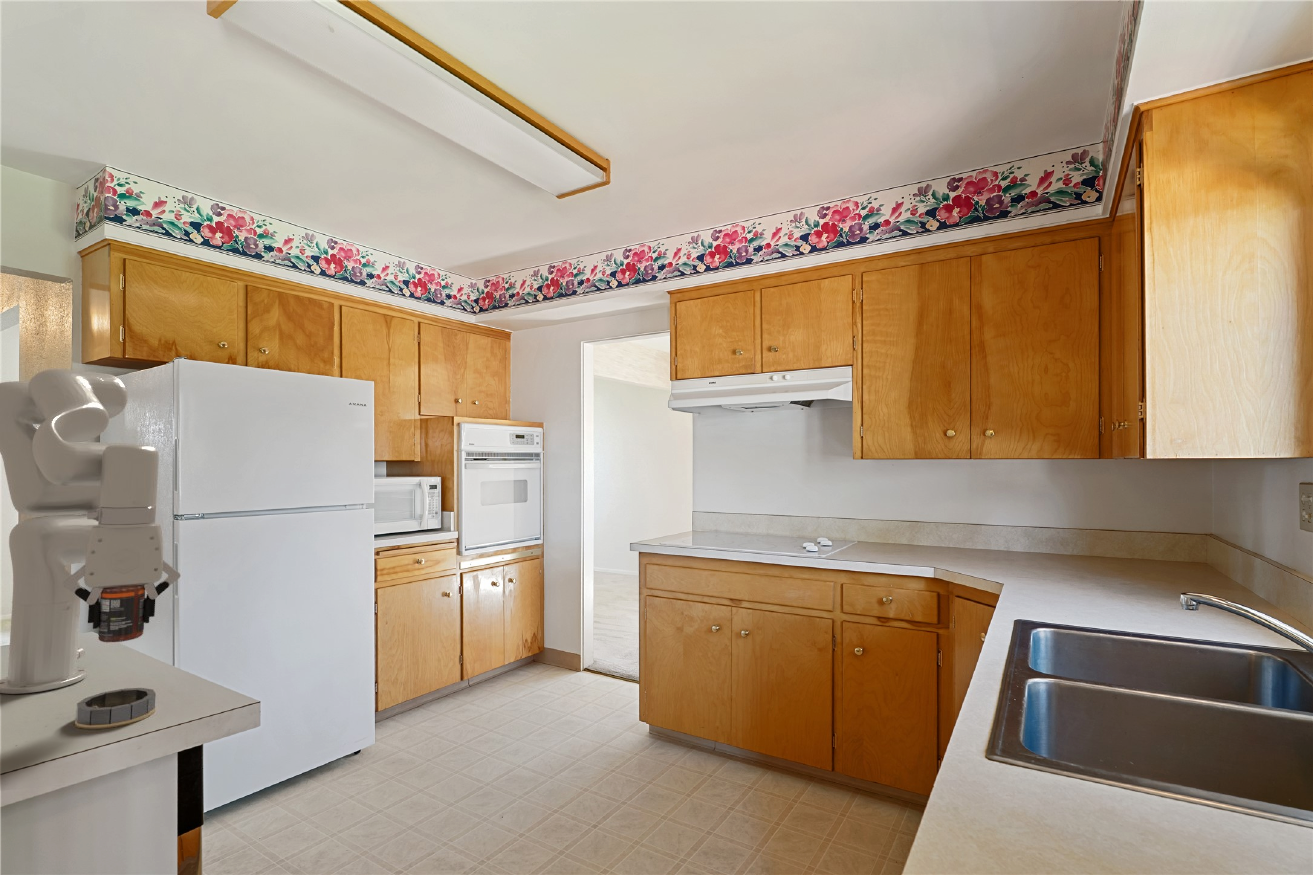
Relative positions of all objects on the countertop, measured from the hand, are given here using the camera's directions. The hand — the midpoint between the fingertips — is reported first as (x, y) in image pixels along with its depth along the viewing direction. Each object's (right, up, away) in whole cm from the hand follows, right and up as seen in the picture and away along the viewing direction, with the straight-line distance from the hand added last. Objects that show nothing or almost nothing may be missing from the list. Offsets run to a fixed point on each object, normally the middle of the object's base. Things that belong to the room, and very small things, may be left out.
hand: (121, 623), depth 110 cm
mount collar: (-1, -16, -1) cm, 16 cm away
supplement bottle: (0, -3, 0) cm, 3 cm away
